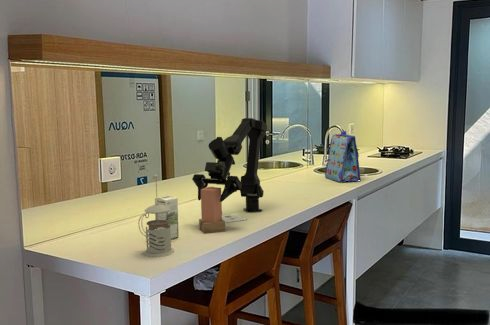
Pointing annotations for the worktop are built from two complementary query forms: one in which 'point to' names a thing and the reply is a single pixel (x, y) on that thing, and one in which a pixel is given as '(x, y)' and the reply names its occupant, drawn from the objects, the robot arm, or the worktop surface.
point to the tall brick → (211, 204)
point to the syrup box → (169, 214)
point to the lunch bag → (343, 159)
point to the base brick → (212, 226)
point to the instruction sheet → (232, 218)
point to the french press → (157, 231)
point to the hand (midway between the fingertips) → (209, 200)
